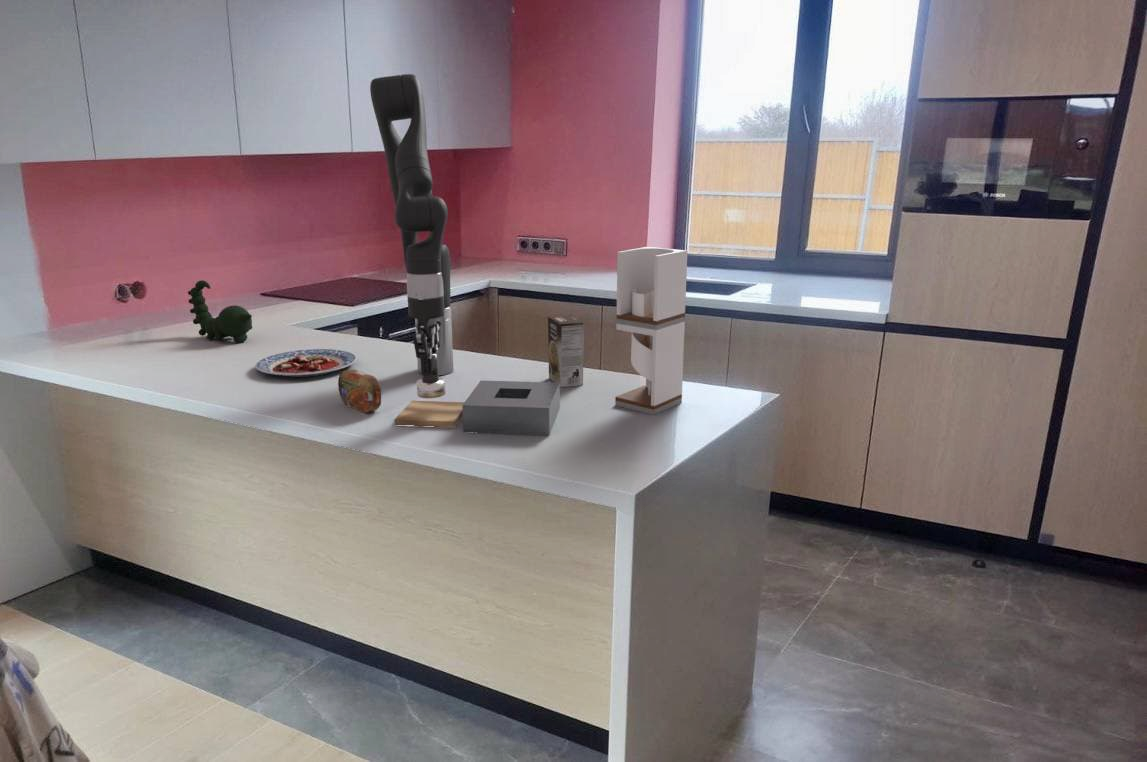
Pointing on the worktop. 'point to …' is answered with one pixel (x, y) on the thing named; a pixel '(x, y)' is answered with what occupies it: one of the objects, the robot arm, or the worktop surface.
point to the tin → (359, 390)
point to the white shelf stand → (653, 323)
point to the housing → (512, 408)
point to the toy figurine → (219, 318)
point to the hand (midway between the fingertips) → (429, 372)
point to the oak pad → (431, 414)
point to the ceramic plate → (306, 362)
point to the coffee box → (565, 350)
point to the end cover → (431, 382)
